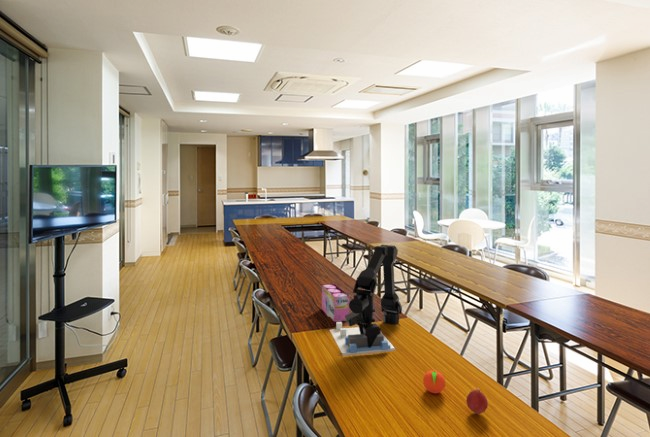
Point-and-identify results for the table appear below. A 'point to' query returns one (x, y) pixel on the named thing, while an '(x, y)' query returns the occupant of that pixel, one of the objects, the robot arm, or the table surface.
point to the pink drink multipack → (335, 302)
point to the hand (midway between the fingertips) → (366, 342)
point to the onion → (477, 401)
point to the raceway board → (352, 331)
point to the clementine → (434, 381)
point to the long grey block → (363, 340)
